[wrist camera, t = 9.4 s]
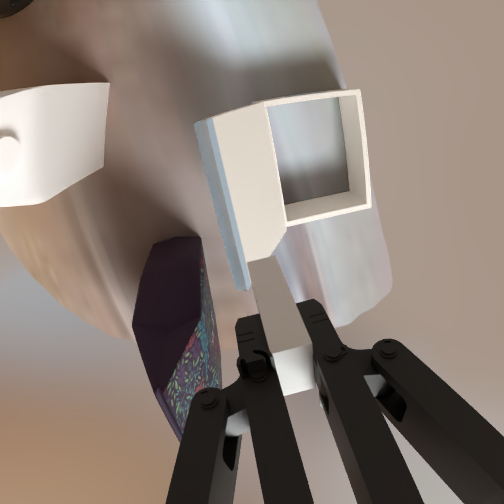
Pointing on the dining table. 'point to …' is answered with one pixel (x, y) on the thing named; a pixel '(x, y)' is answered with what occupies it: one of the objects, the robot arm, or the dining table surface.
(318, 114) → the dining table surface
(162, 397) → the decorative box
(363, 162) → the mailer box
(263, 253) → the lid
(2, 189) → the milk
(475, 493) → the robot arm
